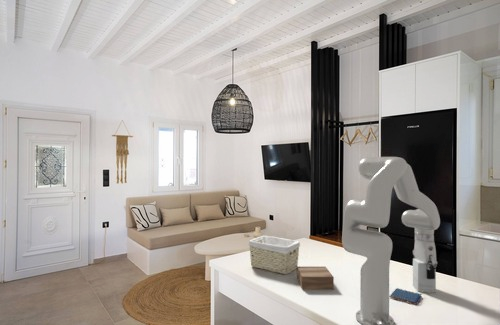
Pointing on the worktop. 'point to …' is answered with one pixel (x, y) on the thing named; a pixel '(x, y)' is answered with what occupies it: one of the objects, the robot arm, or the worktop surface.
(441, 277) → the worktop surface
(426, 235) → the robot arm
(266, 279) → the worktop surface
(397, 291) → the woven mat
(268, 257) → the storage basket
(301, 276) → the walnut block
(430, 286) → the supplement box
